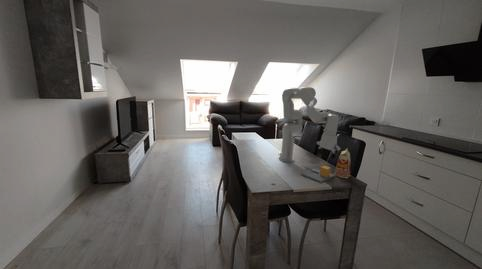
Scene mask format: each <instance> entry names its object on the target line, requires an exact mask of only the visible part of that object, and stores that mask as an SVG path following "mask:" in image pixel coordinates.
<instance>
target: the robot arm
mask: <svg viewBox="0 0 482 269" xmlns="http://www.w3.org/2000/svg"><path fill="white" fill-rule="evenodd" d="M316 93H317V92H316V89H315V88H313V87H311V86H310V87H309V86H302V87H288V88H285V89H284V90H283V91H282V94H281V100H282V105H283V106H282V108H283V120H284V121H285V122H287V123H284V124H283V126H282V127H281V131H282V132H281V133H282V142H281V143H282V144H281V152H278V156H279V157H278V159H279V160H280V161H281V162H285V163H292V162H295V158H294V156H293V154H294V145H295V138H294V135H297V134H298V135H299V134H300V133H302V131H303V114H302V112H301V111H300V110H299V109H295V103H294V102H293V100H292V99H294V100H301V102H303V104H304V105H305V107H306V114H307V116H308V117H309V119H310V120H311V121H312V122H313V123H314V124H325V126H324V128H323V133H322V135H321V138H320V140H319V141H316V145H317V148H318V155H322V154H323V149H325V150H327V151H331V152H332V154H331V158H330V159H331V160H334V159H335V158H336V154H337V153H339V151H340V150H341V147H340V146H339V145H338V136H337V131H338V125H339V119H340V116H339V115H338V114H335V113H330V112H327V111H319V112H318V111H317V110H316V108H315V106H316V105H317V103H318V99H317V98H316V95H317V94H316Z"/></svg>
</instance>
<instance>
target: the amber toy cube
mask: <svg viewBox="0 0 482 269" xmlns="http://www.w3.org/2000/svg"><path fill="white" fill-rule="evenodd" d="M331 168H332V167H329V166H326V165H323V166H320V167H319V170H320V175H321V176H324V177H328V176H330V174H331V170H332V169H331Z"/></svg>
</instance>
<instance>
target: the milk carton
mask: <svg viewBox="0 0 482 269" xmlns="http://www.w3.org/2000/svg"><path fill="white" fill-rule="evenodd" d="M333 175H335V177H336V176H337V177H338V178H339V177H340V178H344V179H348V178H349V177H350V176H351V152H350V151H349V150H348V148H346V149H345V150H342V151H341V153H340V155H339V156H338V159H337V164H336V166H335V171H334V173H333Z"/></svg>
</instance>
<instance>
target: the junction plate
mask: <svg viewBox="0 0 482 269" xmlns="http://www.w3.org/2000/svg"><path fill="white" fill-rule="evenodd" d="M300 176H302V177H305V178H307V177H308V179H311V180H312V179H313V181H315V182H317V181H318V182H317V183H320V184H322V183H324V182H327V181H329V180H331V179H333V178H335V177H336V175H334V173H330V176H328V177H324V176H321V175H320V168H316V167H315V168H312V169H309V170H307V171H303V172H301V173H300Z"/></svg>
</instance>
